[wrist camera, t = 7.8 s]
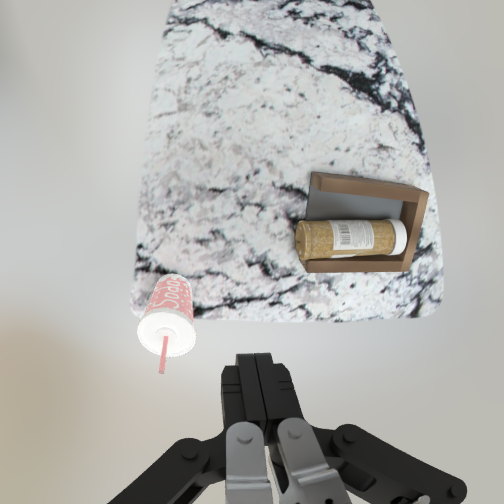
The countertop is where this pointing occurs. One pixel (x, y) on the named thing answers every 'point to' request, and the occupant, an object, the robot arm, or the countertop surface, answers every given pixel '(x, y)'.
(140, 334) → the beverage cup
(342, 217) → the u rest
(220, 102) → the countertop surface
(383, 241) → the sprinkles bottle
